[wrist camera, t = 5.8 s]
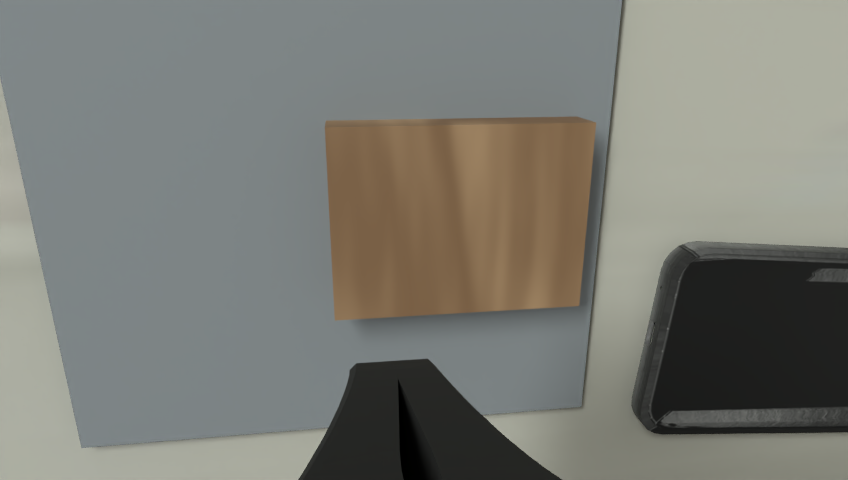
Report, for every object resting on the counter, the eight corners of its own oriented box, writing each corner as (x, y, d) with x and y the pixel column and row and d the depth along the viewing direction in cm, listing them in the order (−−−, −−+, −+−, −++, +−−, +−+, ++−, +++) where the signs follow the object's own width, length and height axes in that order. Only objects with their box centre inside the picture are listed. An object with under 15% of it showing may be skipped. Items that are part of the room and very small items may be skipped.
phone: (960, 431, 26) (635, 435, 23) (935, 415, 27) (622, 418, 24) (1033, 259, 23) (680, 244, 21) (1003, 249, 24) (663, 234, 22)
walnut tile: (334, 320, 19) (579, 305, 20) (324, 127, 17) (596, 122, 18) (334, 300, 20) (562, 288, 21) (325, 120, 18) (577, 116, 19)
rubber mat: (86, 440, 21) (81, 447, 20) (-24, -68, 16) (-33, -70, 15) (577, 400, 23) (581, 406, 23) (621, -53, 18) (627, -55, 18)
